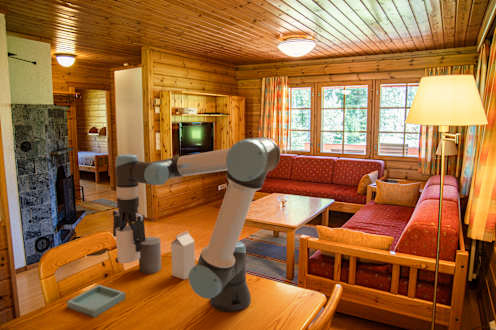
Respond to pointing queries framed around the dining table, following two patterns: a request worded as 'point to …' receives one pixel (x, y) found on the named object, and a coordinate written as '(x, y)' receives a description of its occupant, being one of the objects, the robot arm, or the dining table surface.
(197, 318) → the dining table surface
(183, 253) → the milk carton
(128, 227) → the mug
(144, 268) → the dark gray cylinder
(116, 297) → the tray
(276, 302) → the dining table surface
